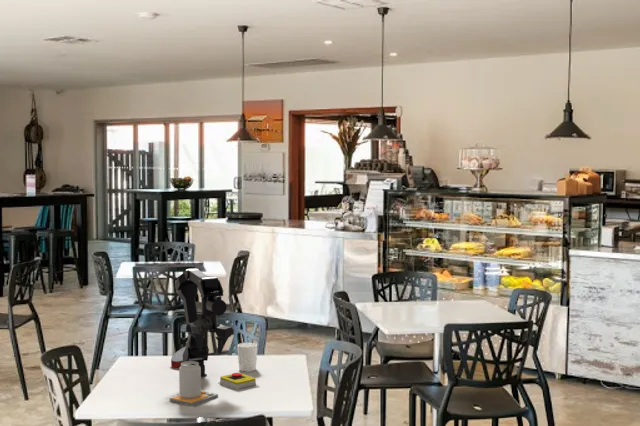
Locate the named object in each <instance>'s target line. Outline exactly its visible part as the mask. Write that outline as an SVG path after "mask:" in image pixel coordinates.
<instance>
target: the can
mask: <svg viewBox="0 0 640 426" xmlns="http://www.w3.org/2000/svg"><path fill="white" fill-rule="evenodd" d="M198 364H199V363H198V362H195V361H188V362H183V363H181V366H180V368H179V369H178V373H179V375H178V376H179V380H178V381H179V395H180V396H181V397H182V398H184V399H194V398H197V397H199V395H201V391H202V377H201V367H200V366H199V365H198Z"/></svg>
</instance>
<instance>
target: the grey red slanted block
mask: <svg viewBox="0 0 640 426" xmlns="http://www.w3.org/2000/svg"><path fill="white" fill-rule="evenodd" d="M185 348H186V345H185V346H183V347H181V348H180V349H179V350H177V351H176V352H175V353H173V354H172V356H171V359H170V361H171V362H170V365H171V367H170V368H173V369H178V370H179V368H180V366H181V363H183V362H184V361H183V353H184V351H185Z"/></svg>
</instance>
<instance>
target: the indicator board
mask: <svg viewBox="0 0 640 426" xmlns="http://www.w3.org/2000/svg"><path fill="white" fill-rule="evenodd" d="M217 398H219V394H218V393H214V392H212V391H209V392H208V391H205V390H201V395H199V397H197V398H194V399H184V398H182V397H181V396H180V394H178V395H176V396H173V397H170V398H169V402H170V403H176V404H180V405H186V406H191V407H196V406H199V405H201V404H205V403H206V402H209V401H210V400H214V399H217Z"/></svg>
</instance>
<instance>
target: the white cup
mask: <svg viewBox="0 0 640 426" xmlns="http://www.w3.org/2000/svg"><path fill="white" fill-rule="evenodd" d="M257 358H258V343H254V342H240V343H239V344H237V359H238V370H239V371H241V372H253V371H256V369H257V361H258V359H257Z"/></svg>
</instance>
